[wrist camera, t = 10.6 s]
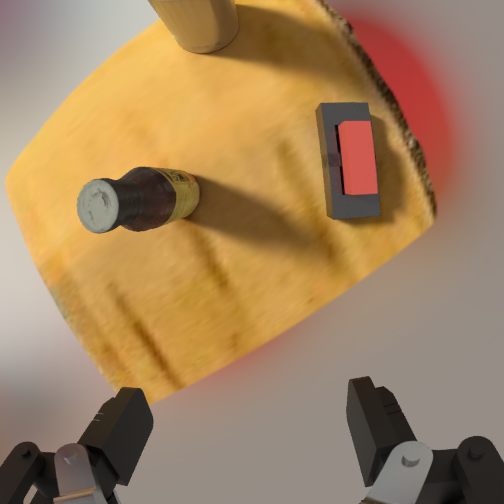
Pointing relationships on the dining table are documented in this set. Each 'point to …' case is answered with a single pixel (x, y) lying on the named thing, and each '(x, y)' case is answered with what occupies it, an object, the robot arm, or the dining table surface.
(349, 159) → the red block
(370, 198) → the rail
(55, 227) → the dining table surface
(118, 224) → the sauce bottle
